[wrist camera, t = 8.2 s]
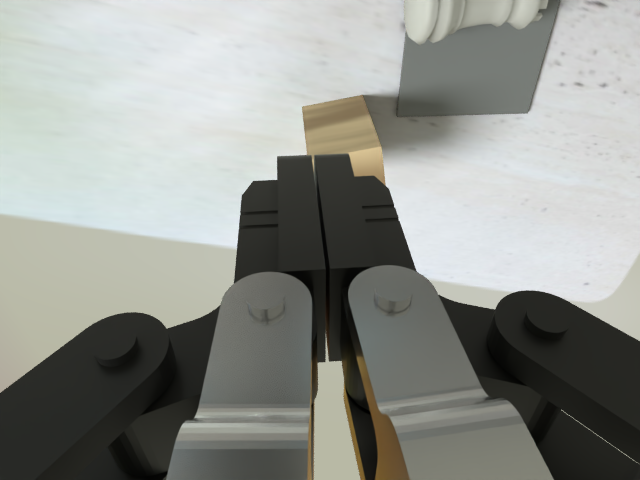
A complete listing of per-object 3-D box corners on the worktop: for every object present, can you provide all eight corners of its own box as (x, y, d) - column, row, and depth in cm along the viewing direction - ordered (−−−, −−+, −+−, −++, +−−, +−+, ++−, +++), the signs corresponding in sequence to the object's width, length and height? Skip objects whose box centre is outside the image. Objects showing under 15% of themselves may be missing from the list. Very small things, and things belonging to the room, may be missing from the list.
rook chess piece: (403, -33, 30) (522, -38, 31) (401, 43, 32) (513, 37, 33) (428, -41, 26) (564, -46, 27) (424, 47, 28) (551, 40, 29)
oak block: (302, 106, 35) (307, 160, 29) (362, 94, 35) (381, 146, 29) (312, 160, 38) (320, 219, 32) (369, 149, 38) (387, 206, 32)
